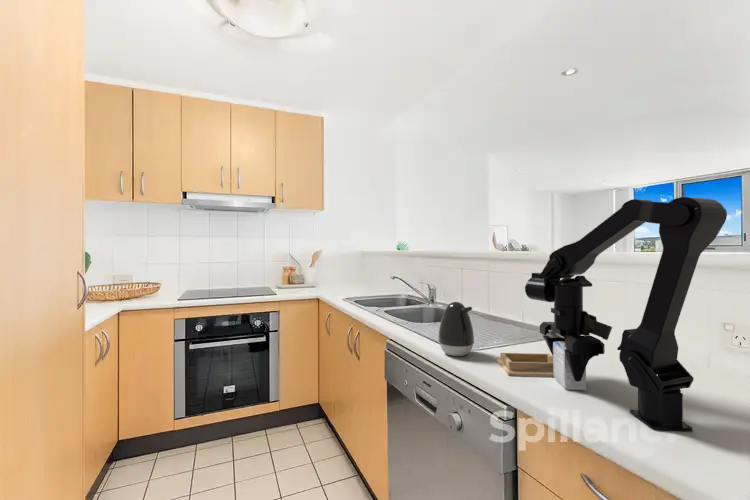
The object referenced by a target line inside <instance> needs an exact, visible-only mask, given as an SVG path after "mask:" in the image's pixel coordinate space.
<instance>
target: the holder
mask: <svg viewBox="0 0 750 500" xmlns="http://www.w3.org/2000/svg"><path fill="white" fill-rule="evenodd" d="M495 361H496V362H497V363H498V364H499V365H500V367H501V368H502V370H503V371H504V372H505V373H506V374H507V376H509V377H537V378H538V377H541V378H542V377H543V378H544V377H545V378H554V376H553V356H552V354H550V353H531V352H529V353H527V352H525V353H523V352H500V357H495Z"/></svg>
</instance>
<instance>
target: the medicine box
mask: <svg viewBox="0 0 750 500" xmlns="http://www.w3.org/2000/svg"><path fill="white" fill-rule="evenodd" d="M564 349H567V348H566V346H565V342H562V341H558V342H553V376H554V377H553V378H555V380H556V381H557V382H558V383H559V384H560V385H561V386H562V387H563V388H564V390H568V391H583V392H585V391H587V367H586V368H585V371H584V374H583V376H582V379H581V381H575V380H574V377H573V375H572V372H571V369H570V366H569V363H568V360H567V357H566V354H565V351H564Z"/></svg>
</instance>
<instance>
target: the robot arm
mask: <svg viewBox="0 0 750 500" xmlns="http://www.w3.org/2000/svg"><path fill="white" fill-rule="evenodd" d="M727 215H728V211H727V209H726V208H725V207H724V206H723V204H722V203H721V202H719V201H717V200H715V199H711V198H702V197H689V196H686V197H685V196H684V197H683V196H681V197H677V198H673V199H672V200H670V201H669V202H662V201H652V200H649V199H638V198H637V199H636V198H633V199H629V200H627V201H625V202H624V203H623V204H622V205H621V207H620V208H619V209H617V211H615V212H613V214H611V215H610V216H609V217H607V218H606V219H605V220H603V221H602V222H601V223H599V224H598V225H597V226H596V227H594V228H593V229H592V230H591V231H589V232H588V233H587V234H585V235H583V237H582V238H580V239H578V240H577V241H575V242H572V243H569V244H566V245H563V246H561V247H559V248H557V249H556V250H553V251H552V252H551V253H550V254H549V257H548V261H547V263H546V265H544V268H543V269H542V271H541V272H531V277H530V278H528V280H527V281H526V284H525V286H524V290H525V291H524V292H525V295H526V297H528V298H529V299H530V300H534V301H541V302H546V303H553V307H550V313H552V314H553V315H554V317H553V318H554V319H553V320H554V321H542V322H541V323H540V324H539V333H540V334H541V335H542V338H543V339H544V341H545V343H546V345H547V347H548V350H549V351H550V353H551V354H550V355H551V356H553V342H558V341H562V342H565V346H566V348H567V349H564V351H565V354H566V357H567V360H568V363H569V366H570V369H571V372H572V375H573V377H574V380H575V381H581V379H582V376H583V374H584V371H585V368H586V369H587V365H588V363H589V361H590V360H592V358H594V357H598V356H599V355H604V354H605V348H606V347H605V343H604V342H603V341H602V340H601V339H603V340H605V341H608V339H609V337H610V335H611V332H612V330H613V326H611V325H608V324H606V323H603V322H600V321H597V316H595V315H592V314H590V313H588V311H585V310H584V302H583V301H584V291H583V290H584V288H586V287H587V288H588V287H589V288H591V287H593V283H592V282H591V281H590V280H588V279H587V278H586V276H585V275H583V274H585V273H586V272H587V271H588V270H589V269H590V268H591V267H592V266H593V265H594V263H595V261H596V259H597V258H598V256H599V255H600V254H602V253H603V252H605V251H606V250H608V248H610V247H611V246H613V245H615V244H616V243H618V242H619V241H621V240H622V239H623V238H625V237H626V236H628V235H629V234H631V233H632V232H633V231H635V230H637V229H638V228H639V227H641V226H642V225H644V224H645V223H649V224H657V225H659V226H658V233H659V237H660V241H661V245H662V252H661V256H660V259H659V262H658V266H657V268H656V269H657V270H656V271H655V276H654V279H653V282H652V284H651V288H650V291H649V296H648V298H647V303H646V304H645V309H644V312H643V315H642V318H641V321H640V324H639V325H638V327H636V328H630V329H629V328H627V329H624V330H623V332H622V334H621V341H620V344H619V345H618V347H617V348H616V350H618V351H619V361H620V362H621V364H622V366H623V369H624V371H625V374H626V377H627V381H628V383H629V385H630V386H632V387H634V388H637V409H632V408H631V409H629V413H630V414H631V415H633V416H634V417H636V419H638V420H640V421H641V422H642V423H644V425H646V426H648V427H649V428H651V429H653V430H661V431H664V430H665V431H689V432H693V427H692V426H691V425H689V424H688V423H686V422H685V421H684V419H683V418H684V416H683V415H684V414H683V413H684V412H683V411H684V410H683V409H684V407H683V406H684V405H683V401H684V398H683V397H684V394H683V393H682V389H689V388H691V385H692V384H693V382H694V377H693V376H692V375H691V373H690V372H689V371H688V370H687V369H686V368H685V367H684V366H683V364H682V363H681V362H680V361H679V360H678V353H679V345H678V341H677V338H676V335H675V332H676V329H677V328H676V327H677V326H678V325H677V324H678V322H679V318H680V316H681V313H682V310H683V307H684V304H685V301H686V298H687V296H688V295H687V294H688V292H689V289H690V286H691V282H692V280H693V277H694V273H695V271H696V267H697V264H698V261H699V259H700V256H701V254H702V253H703V252H704V251H705V250H706V249H707V248H708V247H709V246H710V244H712V243H713V242H714V241H715V240H716V238H717V237H718V235H719V233H720V231H721V230H722V229H723V228H722V227H723V226H724V224H725V222H726V220H727V217H728V216H727ZM590 334H592V335H590ZM593 335H594V336H597V337H599V338H601V339H599V338H596V337H594V336H593Z"/></svg>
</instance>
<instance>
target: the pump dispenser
mask: <svg viewBox="0 0 750 500" xmlns="http://www.w3.org/2000/svg"><path fill="white" fill-rule="evenodd" d="M472 310H473V307H472V306H466V307H465V305H464V304H463V303H461V302H459V301H452V302H449V304H448V305H447V306H446V308H445V309H444V312H443V315H442V317H441V320H440V325H439V331H438V335H437V337H438V343H439V345H440V348H441V350H442V352H444V353H445V354H446V355H448V356H451V357H463V356H466V355H468V354H469V353H471V351H472V349H473V346H474V344H475V336H474V335H475V334H474V327H473V324H472V319H471V317H470V314H469V312H470V311H472Z"/></svg>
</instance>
